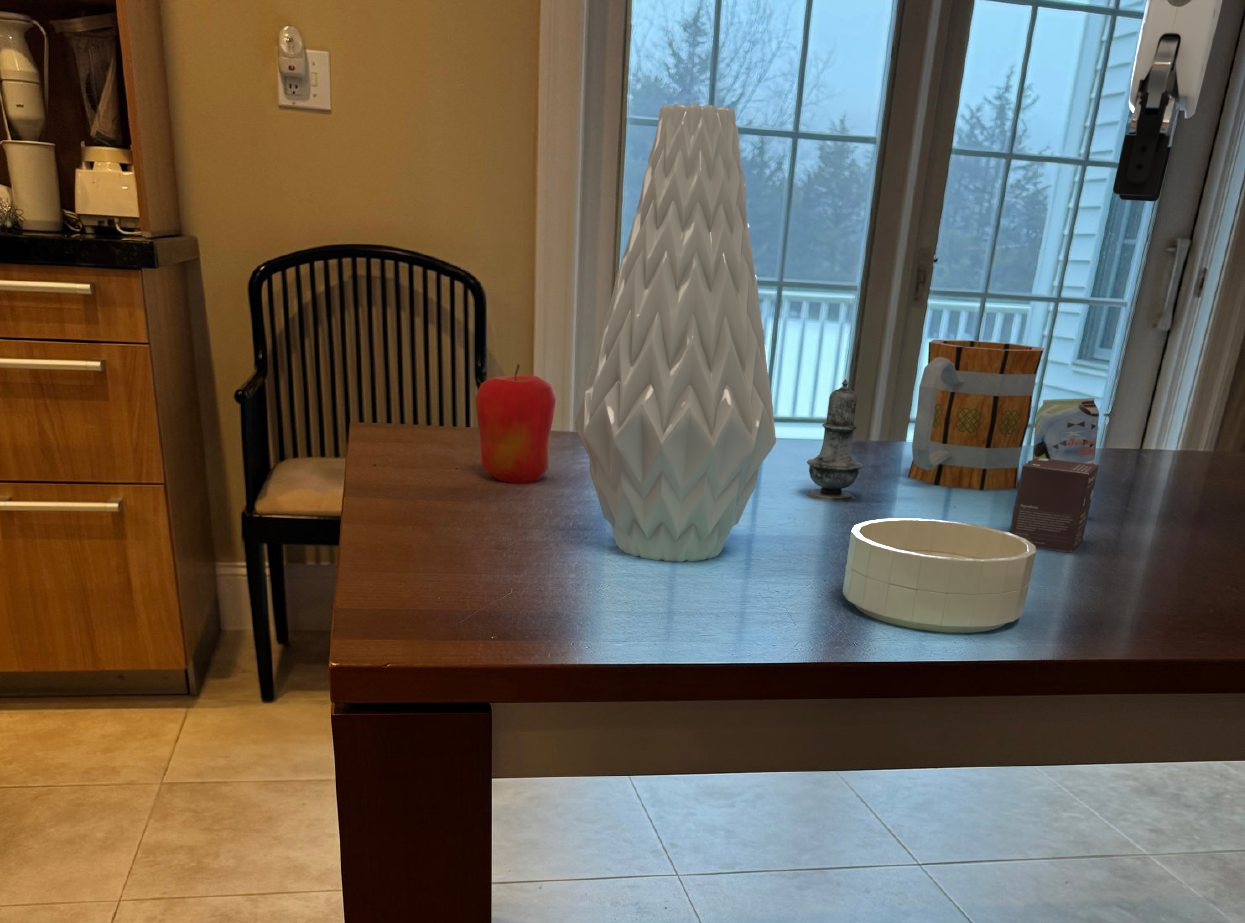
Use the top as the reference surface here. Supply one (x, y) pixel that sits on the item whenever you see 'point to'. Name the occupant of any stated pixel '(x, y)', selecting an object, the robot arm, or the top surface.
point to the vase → (682, 353)
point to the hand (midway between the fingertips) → (1135, 197)
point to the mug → (973, 413)
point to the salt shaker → (836, 449)
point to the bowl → (938, 574)
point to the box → (1053, 503)
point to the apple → (515, 426)
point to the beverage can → (1066, 430)
